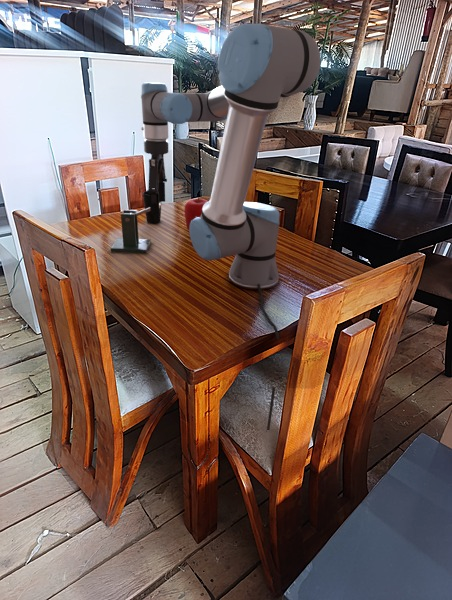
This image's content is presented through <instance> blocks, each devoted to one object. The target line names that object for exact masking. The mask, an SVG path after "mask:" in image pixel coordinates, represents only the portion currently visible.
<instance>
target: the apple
mask: <svg viewBox="0 0 452 600" xmlns="http://www.w3.org/2000/svg"><path fill="white" fill-rule="evenodd" d="M208 201H209V200H206V199H203V198H199V197H198V198H193V199H189V200H187V201H186V203H185V204H184V210H183V211H184V219H185V225H186V229H187V230H188V231H189V227H190V223H191V221H192V220H193V219H195V218H196V217H201V213H202V208H203V205H204V204H205V203H206V202H208Z"/></svg>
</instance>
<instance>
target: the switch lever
mask: <svg viewBox="0 0 452 600" xmlns="http://www.w3.org/2000/svg"><path fill="white" fill-rule="evenodd" d="M162 205H163V203H162V202H160V201H159V209H160V207H161V208H162ZM149 211H150V207H149V208H147V209H145V208H144V209H142V210H140V211H137V212H136V213H134V214H135V217H136V216H137V217H138V216H141V215H144V214H146V212H149ZM128 214H133V213H132V212H130V213H128Z"/></svg>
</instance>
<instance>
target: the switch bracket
mask: <svg viewBox="0 0 452 600" xmlns="http://www.w3.org/2000/svg"><path fill="white" fill-rule="evenodd" d="M130 212H132V213H133V214H128V213H130ZM136 212H138V210H137V209H123V212H121V213H120V223H121V235H122V237H117V238H116V239H115V241H114V243H113V244H112V246H111V247H110V253H120V254H141V255H142V254H144V255H146V254H147V253H148V250H149V249H150V247H151V245H152V239H149V238H140V236H139V221H138V216H136V217H135V214H134V213H136Z"/></svg>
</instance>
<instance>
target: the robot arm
mask: <svg viewBox="0 0 452 600" xmlns="http://www.w3.org/2000/svg"><path fill="white" fill-rule="evenodd" d="M319 48H320V47H319V46H318V44H317V42H316V41H315V39H314V38H313V37H312V36H311V35H310V34H309V33H307V32H306V31H304V30H301V29H295V28H286V27H280V26H275V25H268V24H264V23H259V22H257V23H241V24H239V25H237V26H235V27H233V30H231V31H229V32H228V34H227V35H226V37H225V38H224V39H223V42H222V44H221V47H220V50H219V54H218V58H217V59H218V60H217V71H218V72H219V74H218V80H219V83H220V84H221V85H220V86H218V87H216V88H214V89H212V90H210V91H208V92H204V93H203V92H201V93H200V92H194V93H193V92H171V91H168V86H167V84H166V83H164V82H149V81H147V82H143V83H142V84H141V95H140V98H141V114H142V126H141V127H140V129H141V131H143V138H144V140H143V151H144V153H145V154H148V155H149V154H150V155H151V156H150V158H149V159H148V166H149V167H148V189H146V191H147V193H150V211H151V213H155V214H159V201H160V202H163V203H165V202H166V183H167V182H168V178H167V176H166V169H165V159H164V157H165V156H164V155H166V154H169V141H168V139H169V123H171V124H173V125H175V124H177V125H184V124H185V123H197V122H198V123H200V122H204V123H205V122H207V123H209V122H210V123H211V122H212V123H218V122H224V121H225V124H224V130H223V133H222V134H223V135H222V140H221V144H220V149H219V154H218V159H217V164H216V169H215V174H214V179H213V184H212V188H211V194H210V198H209V200H207V201H208V202H206V203H205V204H204V205H203V208H202V213H201V217H196V218H195V219H193V220H192V221H191V223H190V227H189V230H188V231H189V237H190V241H191V244H192V247H193V249H194V251H195V252H196V254H197V255H198V256H199V257H200V258H201V259H202V260H205V261H214V260H217V261H218V260H221V259H224V258H228V257H232V256H234V259H233V261H232V263H231V265H230V268H229V271H228V272H229V273H228V280H229V282H230V283H231V284H233V285H234V286H236V287H238V288H240V289H243V290H244V289H245V290H249V291H258V292H259V296H260V309H261V312H262V314H263V316H264V317H265V319H266V320H267V322H268V324H269V325H270V326H271V327H272V329H273V331H274V334H275V338H276V340H280V335H279V331H278V330H279V329H278V328H277V326H276V325H275V323H274V322H273V321H272V320H271V319H270V317H269V315H268V314H267V312H266V310H265V308H264V303H265V302H264V301H265V300H264V295H263V291H266V290H269V289H272V288H275V287H276V286H278V283H279V279H280V276H279V269H278V265H277V261H276V251H277V245H278V237H279V231H280V230H279V229H280V225H281V224H280V215H281V214H280V211H279V209H278V208H276V207H275V206H272V205H269V204H265V203H261V202H256V201H255V202H254V201H246V198H247V194H248V191H249V187H250V183H251V179H252V176H253V172H254V168H255V164H256V160H257V157H258V153H259V150H260V146H261V141H262V138H263V134H264V130H265V127H266V124H267V120H268V116H269V115H270V114H271V113H273V112H275V111H277V109H278V106H279V103H280V99H281V98H284V99H285V98H289V97H292V96H294V95H297V94H300V93H302V92H304V91H306V90H307V89H309V88H310V87H311V86H312V85H313V83H314V82H315V81H316V79H317V78H318V76H319V73H320V68H321V65H322V64H321V60H322V59H321V57H322V55H321V52H320V49H319ZM275 393H276V387H273V386H272V388H271V397H270V404H269V410H268V411H269V412H268V420H267V426H266V431H267V430H269V431H270V430H271V429H270V428H271V422H272V414H273V408H274V401H275Z"/></svg>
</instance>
